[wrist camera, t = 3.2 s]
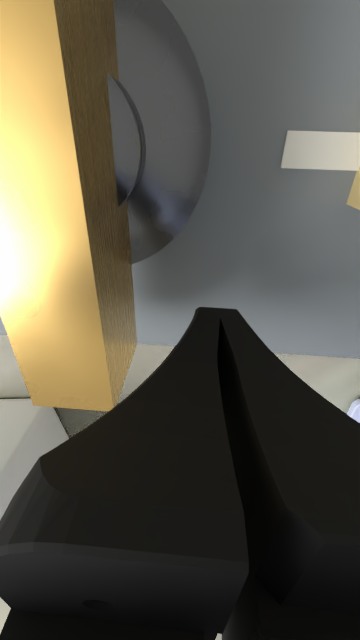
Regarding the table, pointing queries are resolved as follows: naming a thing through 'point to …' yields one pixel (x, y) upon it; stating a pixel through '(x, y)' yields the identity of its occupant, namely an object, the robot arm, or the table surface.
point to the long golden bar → (90, 181)
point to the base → (269, 180)
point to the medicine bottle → (24, 442)
